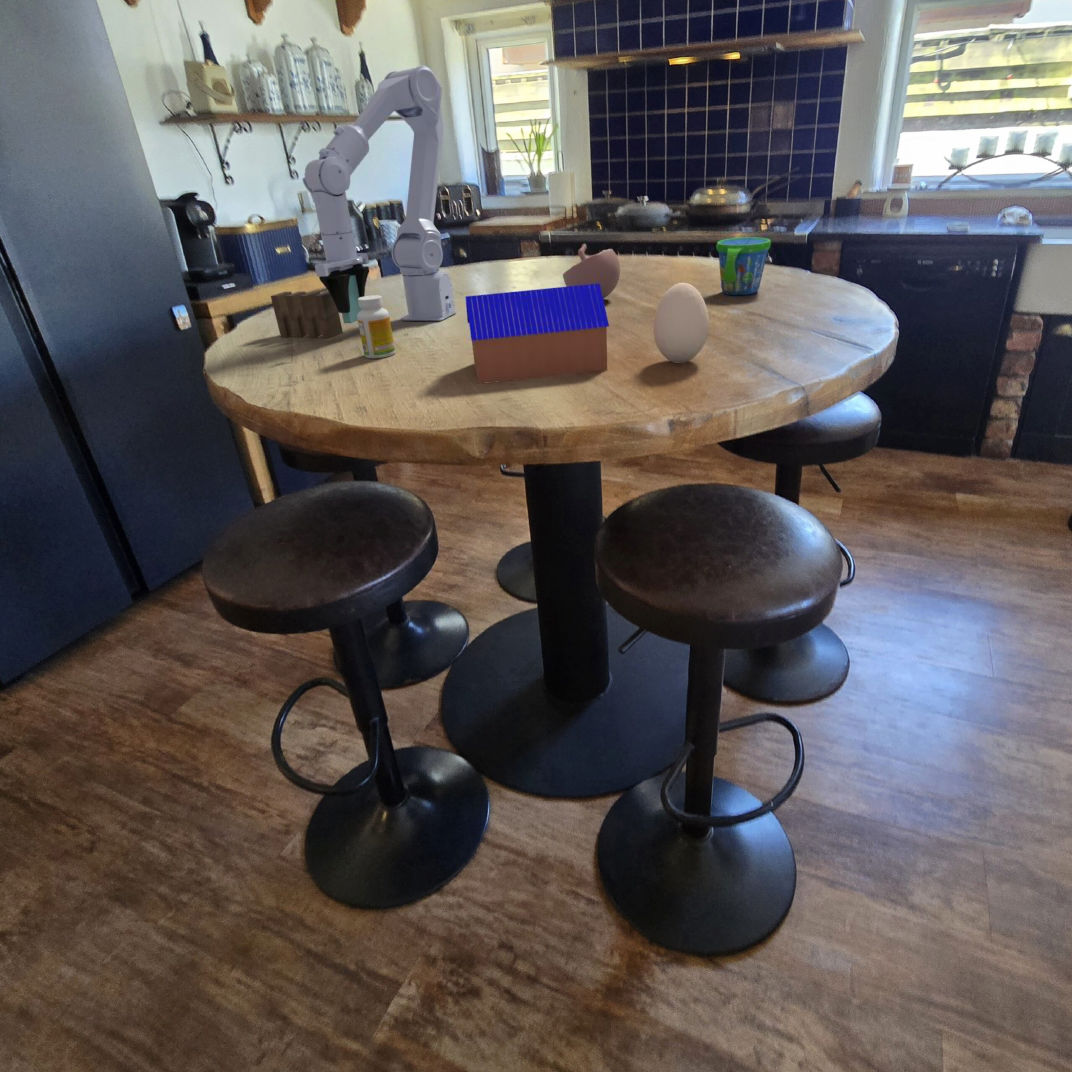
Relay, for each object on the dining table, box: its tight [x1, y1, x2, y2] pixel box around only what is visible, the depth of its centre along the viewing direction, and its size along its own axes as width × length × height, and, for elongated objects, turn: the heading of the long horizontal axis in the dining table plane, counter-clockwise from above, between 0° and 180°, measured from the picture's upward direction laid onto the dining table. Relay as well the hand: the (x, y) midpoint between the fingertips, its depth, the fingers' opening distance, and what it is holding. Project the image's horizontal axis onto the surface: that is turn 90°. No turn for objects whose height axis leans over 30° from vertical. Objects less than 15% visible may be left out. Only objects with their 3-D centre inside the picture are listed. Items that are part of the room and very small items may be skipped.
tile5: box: [270, 291, 294, 338], centre depth 138 cm, size 2×4×8 cm, turn 161°
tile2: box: [314, 290, 344, 339], centre depth 135 cm, size 2×4×8 cm, turn 160°
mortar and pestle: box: [562, 243, 621, 300], centre depth 146 cm, size 12×12×11 cm
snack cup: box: [715, 236, 772, 296], centre depth 143 cm, size 16×10×10 cm
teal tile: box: [341, 275, 361, 324], centre depth 132 cm, size 2×4×8 cm, turn 160°
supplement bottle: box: [357, 294, 396, 360], centre depth 118 cm, size 5×5×10 cm
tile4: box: [285, 290, 309, 339], centre depth 137 cm, size 2×4×8 cm, turn 161°
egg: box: [652, 282, 710, 364], centre depth 101 cm, size 8×8×11 cm
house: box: [465, 283, 610, 384], centre depth 104 cm, size 12×20×12 cm, turn 98°
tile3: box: [300, 290, 323, 339], centre depth 136 cm, size 2×4×8 cm, turn 160°
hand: (351, 309), depth 133 cm, fingers closed on teal tile, 4 cm apart
